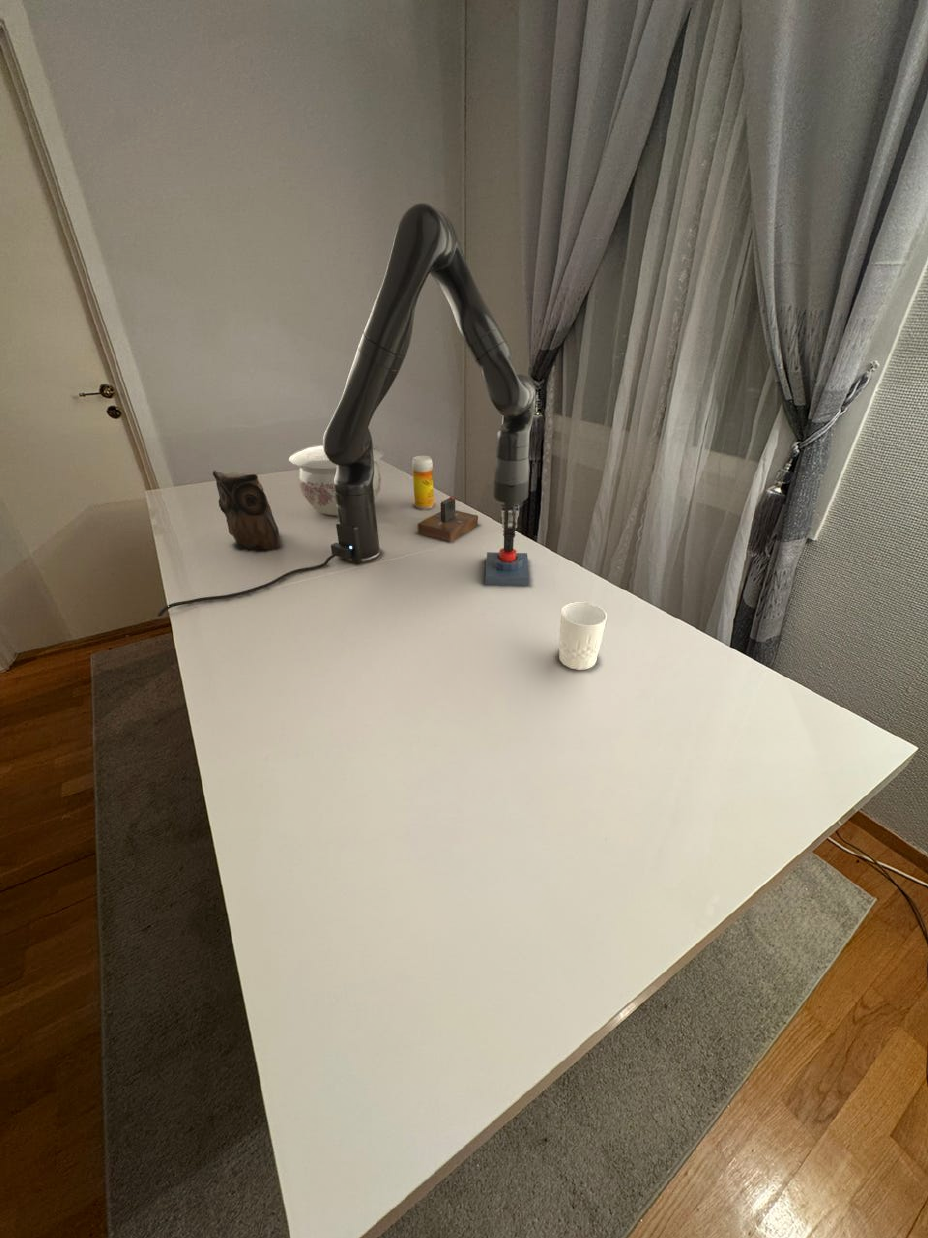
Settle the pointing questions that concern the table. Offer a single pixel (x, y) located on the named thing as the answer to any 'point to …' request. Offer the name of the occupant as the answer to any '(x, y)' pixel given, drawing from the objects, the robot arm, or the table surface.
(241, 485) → the owl
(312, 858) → the table surface
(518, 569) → the button box
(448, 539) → the dial panel
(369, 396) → the robot arm
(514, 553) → the press knob
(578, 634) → the white cup
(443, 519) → the dial knob
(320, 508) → the chamber pot
